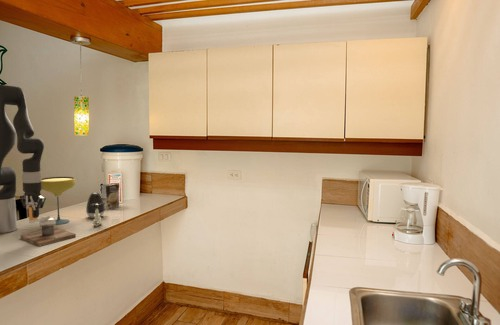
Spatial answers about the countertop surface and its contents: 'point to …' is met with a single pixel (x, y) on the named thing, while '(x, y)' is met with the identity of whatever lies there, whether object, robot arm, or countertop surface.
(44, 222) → the coupling
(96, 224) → the valve
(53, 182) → the cocktail glass
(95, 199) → the black egg-shaped body
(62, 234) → the base board
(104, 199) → the coffee box
